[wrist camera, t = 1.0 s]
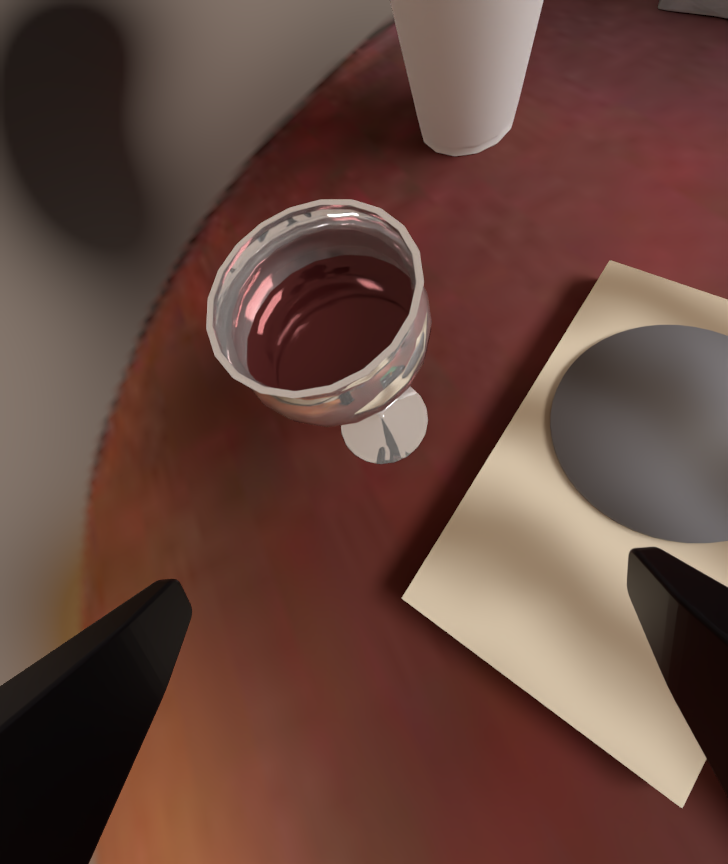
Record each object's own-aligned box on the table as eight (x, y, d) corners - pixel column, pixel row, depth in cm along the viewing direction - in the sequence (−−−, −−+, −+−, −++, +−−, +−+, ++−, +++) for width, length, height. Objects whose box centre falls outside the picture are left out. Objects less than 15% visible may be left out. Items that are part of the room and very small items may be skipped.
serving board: (663, 786, 16) (686, 813, 14) (405, 595, 20) (400, 599, 18) (867, 373, 18) (908, 355, 17) (600, 278, 23) (611, 256, 21)
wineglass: (339, 494, 22) (216, 431, 11) (316, 386, 25) (194, 243, 14) (460, 460, 21) (458, 353, 10) (424, 350, 24) (391, 165, 13)
